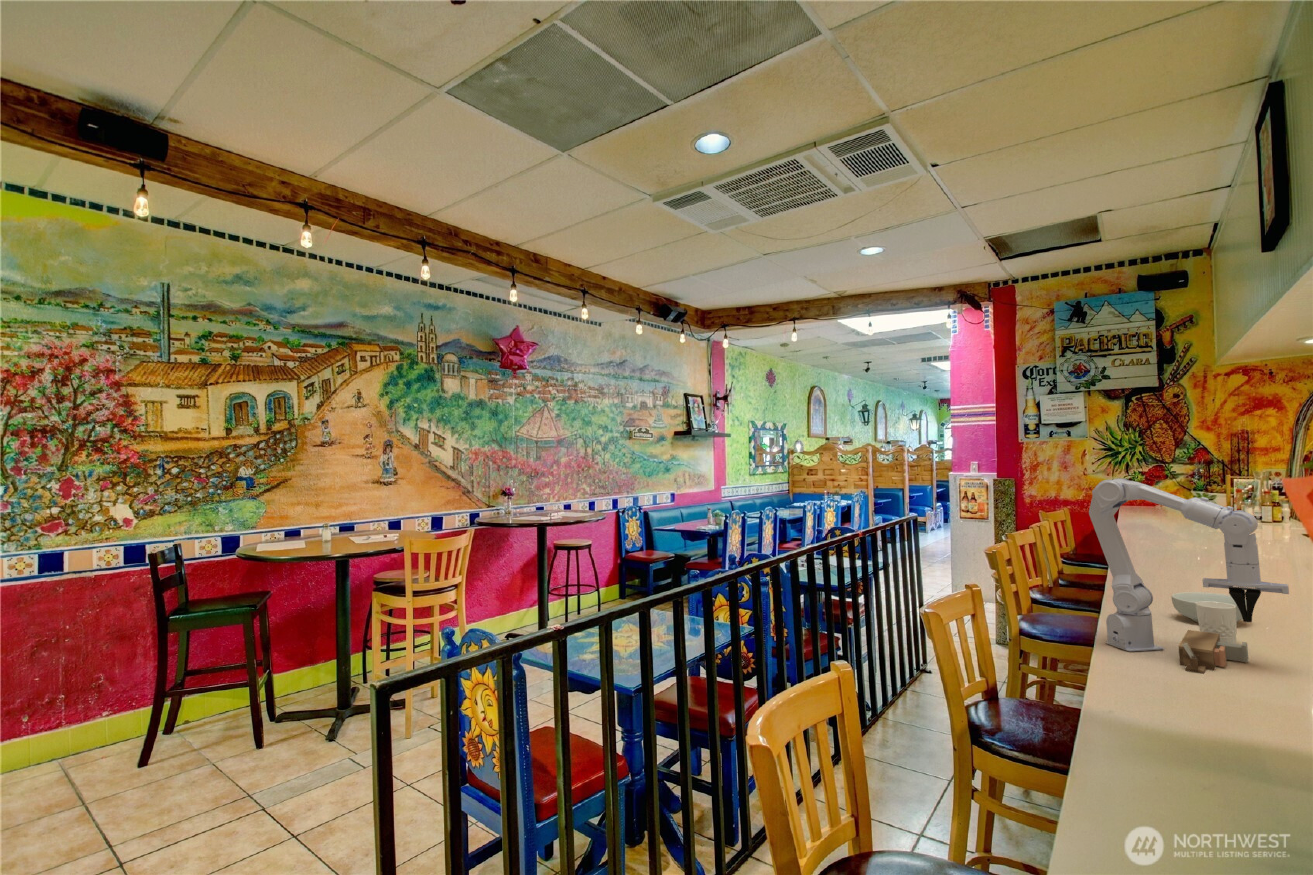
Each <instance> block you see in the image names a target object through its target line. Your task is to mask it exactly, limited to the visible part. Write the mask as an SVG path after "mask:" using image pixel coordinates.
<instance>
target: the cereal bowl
mask: <svg viewBox="0 0 1313 875" xmlns="http://www.w3.org/2000/svg"><path fill="white" fill-rule="evenodd" d="M1171 601H1172V602H1171V603H1172V606H1173V608H1174V609H1175V610H1176V611H1177V612H1178V614H1181V615H1182V616H1184V617H1185V618H1188V619H1192V621H1194V622H1196V621H1197V622H1196V623H1199V622H1198V617H1197V610H1196V604H1195V603H1196V602H1203V601H1209V602H1221V603H1228V604H1232V605H1235V606H1236V622H1239V621H1242V620H1243V618H1242V615H1241V613H1240V610H1239V608H1238V606H1237V605H1236V603H1235V601H1234V600H1233V598H1232V597H1231V596H1230V594H1224V593H1218V592H1217V593H1216V592H1207V591H1206V592H1204V591H1186V592H1185V591H1183V592H1176V593H1172V594H1171ZM1245 602H1246V599H1245ZM1246 610H1247V605H1246Z"/></svg>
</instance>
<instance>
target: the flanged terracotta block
mask: <svg viewBox="0 0 1313 875" xmlns="http://www.w3.org/2000/svg"><path fill="white" fill-rule="evenodd" d="M1214 659H1215V667H1221V668H1226V665H1227V659H1226V652H1225V646H1220V648H1219V649H1218V648H1214Z"/></svg>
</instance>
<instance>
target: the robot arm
mask: <svg viewBox="0 0 1313 875" xmlns="http://www.w3.org/2000/svg"><path fill="white" fill-rule="evenodd" d="M1091 494H1092V497H1091V500H1090V501H1091V502H1090V504H1089V510H1088V515H1089V517H1090V521H1091V523H1092V525H1093V528H1094V531H1095V533H1096V536H1097V539H1098V542H1099V544H1100V547H1101V550H1102V553H1103V554H1104V558H1105V560H1106V562H1107V566H1108V569H1109V570H1110V573H1111V576H1112V581H1111V588H1112V591H1113V594H1112V603H1113V605H1114V607H1115V608H1116V611H1115V612H1114V613H1110V614H1108V615H1107V617H1106V635H1107V641H1106V640H1105V644H1107V645H1110V646H1112V647H1115V648H1118V649H1121V650H1123V651H1126V652H1142V651H1143V652H1144V651H1145V652H1146V651H1160V650H1162V651H1163V650H1164V649H1165V648H1164V647H1163V646H1159V645H1156V644H1155V640H1154V628H1153V626H1154V625H1153V616H1152V611H1151V609H1150V606H1151V605H1152V603H1153V602H1154V601H1153V600H1154V597H1153V596H1154V595H1153V593H1152V592H1151V590H1150V589H1149V588H1148V587H1147V586H1146V585H1145V584H1144V580H1143V579H1142V578H1141V577H1140V576H1139V575H1138V573H1136V570H1135V568H1134V564H1133V562H1132V559H1131V557H1130V554H1129V552H1128V549H1127V547H1126V544H1125V542H1124V540H1123V536H1122V534H1121V531H1120V528H1119V526H1118V523H1117V521H1116V518H1115V514H1116V513H1117V512H1118V511H1119V509H1120V507H1121V506H1122V505H1124V504H1126V503H1127V502H1128V501H1136V500H1138V501H1139V500H1144V501H1147V502H1150V503H1153V504H1157V505H1160V506H1164V507H1166V508H1170V509H1172V510H1176V511H1178V512H1181V514H1182V515H1183V518H1185V519H1186V520H1189V521H1192V522H1194V523H1198V524H1200V525H1203V526H1206V527H1209V528H1212V529H1215V530H1218V529H1219V530H1220V531H1221V532H1222V534H1223V537H1224V539H1223V540H1224V542H1223V547H1224V558H1225V567H1226V568H1225V570H1226V578H1207V577H1203V578H1202V587H1203V588H1208V589H1209V588H1214V589H1215V588H1216V589H1228V595H1230V596H1231V597H1232V598H1233V600H1234V601H1235V603H1236V605H1237V606H1238V608H1239V610H1240V613H1241V615H1242V618H1243V619H1242V622H1243V623H1252V622H1253V613H1254V609H1255V606H1256V605H1257V601H1258V600H1259V598H1260V596H1261V594H1262V592H1264V593H1275V594H1282V595H1289V594H1290V590H1289V589H1290V588H1289V584H1288V583H1277V582H1268V581H1261V569H1260V558H1259V549H1258V544H1257V536H1256V532H1255V531H1257V529H1258V524H1259V523H1258V520H1257V518H1256V517H1255V516H1254V515H1253V514H1251V513H1249V512H1247V511H1245V510H1243V509H1242V510H1234V509H1235V508H1234V507H1233V506H1230V505H1228V506H1224V505H1220V504H1217V503H1216V502H1215V503H1214V502H1212V501H1209V500H1210V499H1209V498H1207V497H1205V496H1202V497H1200V498H1199V497H1191V498H1188V499H1186V498H1183V497H1181V496H1178V495H1176V494H1173V493H1170V492H1167V491H1165V490H1162V489H1158V488H1156V487H1154V486H1151V485H1148V484H1146V483H1142V482H1138V481H1134V480H1129V479H1126V478H1119V477H1118V478H1114V479H1105V480H1101V481H1099V483H1098V484H1097V485H1096V486H1095V487H1094V489H1093V490H1092V491H1091ZM1254 532H1255V533H1254ZM1245 600H1246V602H1245ZM1246 605H1247V610H1246Z"/></svg>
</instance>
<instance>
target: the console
mask: <svg viewBox="0 0 1313 875" xmlns="http://www.w3.org/2000/svg"><path fill="white" fill-rule="evenodd" d="M1217 641H1218V642H1220V634H1218V633H1210V632H1202V631H1200V630H1193V629H1192V630H1191V629H1188V630H1187V631H1186V632H1185V634H1184V636H1183V638H1182V640H1181V641H1180V643H1179V645H1178V657H1179V665H1180V666H1183V667H1185V671H1186V672H1189V673H1190V672H1192V673H1196V674H1197V673H1199V674H1205V672H1206V670H1209V671H1215V668H1216V665H1215V659H1214V648H1217ZM1183 643H1188V645H1189V647H1190V648H1191V650H1192V651H1193V653H1194V654H1195V656H1196V657H1197V658H1198V659H1199V660H1198V662H1197V659H1194V658H1190V656H1189V655H1188V653H1187V652H1186V650H1185V648H1184V647H1183V645H1182V644H1183Z"/></svg>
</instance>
